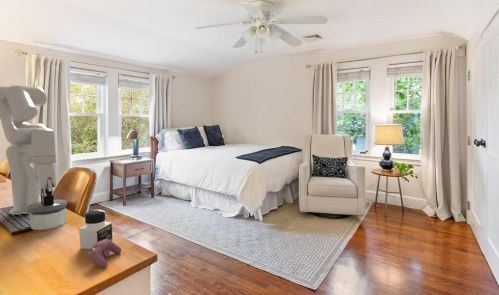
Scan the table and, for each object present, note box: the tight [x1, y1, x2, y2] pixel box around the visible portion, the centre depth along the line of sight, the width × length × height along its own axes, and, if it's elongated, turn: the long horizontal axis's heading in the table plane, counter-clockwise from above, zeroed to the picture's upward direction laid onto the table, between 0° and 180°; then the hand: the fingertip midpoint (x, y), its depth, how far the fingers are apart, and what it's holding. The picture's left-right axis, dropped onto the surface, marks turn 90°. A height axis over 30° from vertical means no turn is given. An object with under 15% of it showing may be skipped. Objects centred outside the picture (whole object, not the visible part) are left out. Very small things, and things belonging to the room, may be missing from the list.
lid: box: [27, 193, 68, 213], centre depth 111 cm, size 13×13×6 cm
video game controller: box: [87, 239, 122, 269], centre depth 84 cm, size 10×5×7 cm, turn 178°
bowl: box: [28, 207, 68, 231], centre depth 111 cm, size 12×12×6 cm
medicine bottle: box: [78, 209, 114, 251], centre depth 94 cm, size 7×7×12 cm
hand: (47, 203), depth 111 cm, fingers closed on lid, 3 cm apart
